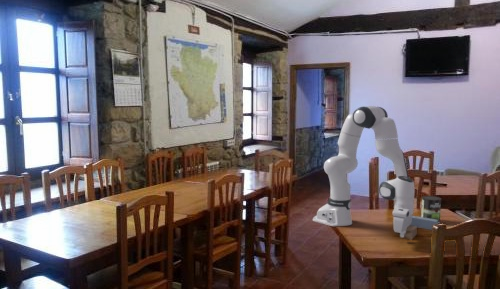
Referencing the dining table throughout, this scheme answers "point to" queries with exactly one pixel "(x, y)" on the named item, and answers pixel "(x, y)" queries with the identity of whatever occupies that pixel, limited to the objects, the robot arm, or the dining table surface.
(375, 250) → the dining table surface
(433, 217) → the coffee can
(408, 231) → the walnut block
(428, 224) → the board
